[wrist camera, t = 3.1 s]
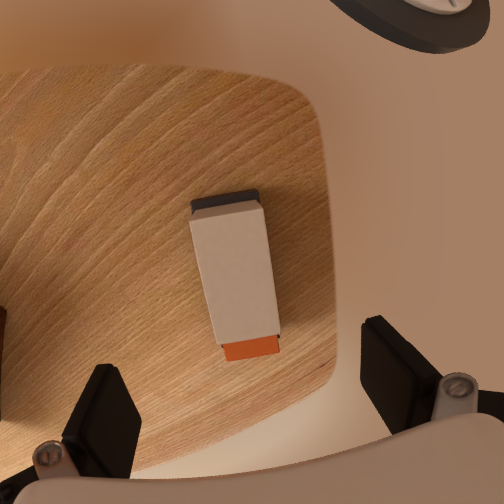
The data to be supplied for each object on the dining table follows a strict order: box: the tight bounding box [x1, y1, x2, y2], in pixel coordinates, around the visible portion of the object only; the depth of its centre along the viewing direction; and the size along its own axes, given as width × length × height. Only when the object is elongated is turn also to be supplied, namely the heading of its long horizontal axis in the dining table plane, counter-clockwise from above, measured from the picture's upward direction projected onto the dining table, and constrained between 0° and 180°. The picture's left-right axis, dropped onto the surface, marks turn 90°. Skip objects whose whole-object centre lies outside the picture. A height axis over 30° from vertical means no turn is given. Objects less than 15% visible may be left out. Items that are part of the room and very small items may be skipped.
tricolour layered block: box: [189, 189, 281, 362], centre depth 18 cm, size 10×4×5 cm, turn 9°
